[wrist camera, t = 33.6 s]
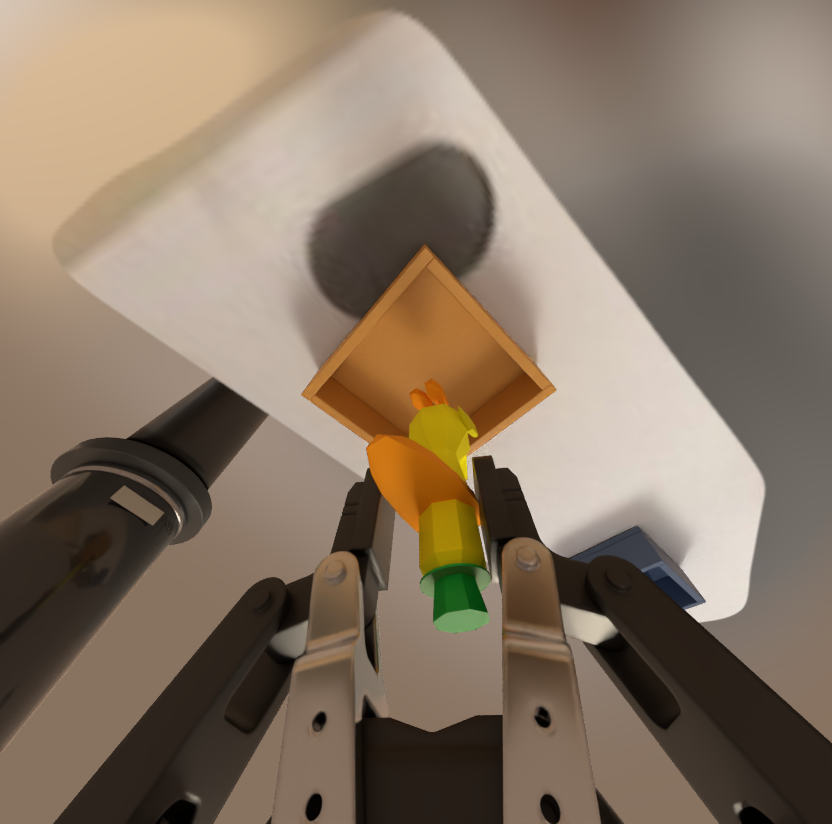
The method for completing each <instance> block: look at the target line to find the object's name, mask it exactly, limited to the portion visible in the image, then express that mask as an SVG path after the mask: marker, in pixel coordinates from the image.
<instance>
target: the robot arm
mask: <svg viewBox="0 0 832 824" xmlns="http://www.w3.org/2000/svg"><path fill="white" fill-rule="evenodd" d="M472 464H473V477H474V489H475V496H476V498H477V501H478V503H479V511H480V523H481V529H482V534H483V539H484V544H485V550H486V555H487V560H488V565H489V571H490V576H491V581H492V584H500V589H501V593H502V669H503V672H502V673H503V715H481V716H480V715H478V716H474V717H471V718H469V719H466V720H464V721H462V722H459V723H457V724H454V725H451V726H449V727H446V728H444V729H441V730H439V731H436V732H428V731H425V730H422V729H419V728H417V727H414V726H411V725H409V724H406V723H403V722H400V721H398V720H395V719H392V718H389V708H388V701H387V695H386V691H385V686H384V681H383V672H382V660H381V659H382V658H381V646H380V630H379V617H378V609H377V598H378V591H381V590H388V581H389V571H390V561H391V551H392V540H393V530H394V520H395V509H394V508H393V507H392V506H391V505H390V503H389V502H388V501H387V500H386V499H385V497H384V496H383V495H382V494H381V492H380V490H379V488H378V486H377V485H376V483H375V481H374V479H373V477H372V475H371V470H370V468H368V469H367V472H366V476H365V480H364V482H357V483H355V484H354V486H353V487H352V488H351V489H350V491H349V492H348V494H347V498H346V502H345V506H344V508H343V512H342V516H341V519H340V523H339V526H338V529H337V533H336V536H335V540H334V543H333V547H332V550H331V554H330V555H329V556H327V557H326V558H325V559H323V560H322V561H321V562H320V564H319V565H318V566H317V568H316V570H315V572H314V573H313V574H311V575H309V576H307V577H304V578H302V579H299V580H297V581H294V582H292V583H289V584H287V585H285V583H284V582H283V581H282V580H281V579H279V578H276V577H271V578H266V579H263V580H261V581H259V582H258V583H256V584H254V585H253V586H252V587H251V588H250V589H248V591H247V592H246V593H245V594H244V595H243V596H242V597H241V599H240V600H239V601H238V602H237V604H236V605H235V606H234V607H233V608H232V610H231V611H230V612H229V613H228V615H227V616H226V617H225V618H224V619H223V621H222V622H221V623H220V624H219V625H218V627H217V628H216V629H215V630H214V631H213V632H212V634H211V635H210V636H209V637H208V638H207V640H206V641H205V642H204V643H203V645H202V646H201V647H200V648H199V649H198V650H197V652H196V653H195V654H194V655H193V656H192V658H191V659H190V660H189V661H188V662H187V664H186V665H185V666H184V667H183V668H182V670H181V671H180V672H179V673H178V675H177V676H176V677H175V678H174V680H172V682H171V683H170V684H169V685H168V686H167V688H166V689H165V690H164V691H163V692H162V694H161V695H160V696H159V697H158V698H157V700H156V701H155V702H154V703H153V705H152V706H151V707H150V708H149V709H148V710H147V712H146V713H145V714H144V715H143V717H142V718H141V719H140V720H139V722H137V724H136V725H135V726H134V727H133V728H132V730H131V731H130V732H129V733H128V735H127V736H126V737H125V738H124V739H123V741H122V742H121V743H120V744H119V745H118V747H117V748H116V749H115V750H114V751H113V753H112V754H111V755H110V756H109V757H108V759H107V760H106V761H105V762H104V763H103V765H102V766H101V767H100V768H99V769H98V771H97V772H96V773H95V774H94V775H93V777H92V778H91V779H90V780H89V781H88V783H87V784H86V785H85V786H84V787H83V789H82V790H81V791H80V792H79V793H78V795H77V796H76V797H75V798H74V799H73V801H72V802H71V803H70V804H69V805H68V807H67V808H66V809H65V810H64V811H63V813H62V814H61V815H60V816H59V818H58V819H57V820H56V821H55V822H54V824H213V823H214V821H215V819H216V818H217V816H218V814H219V813H220V811H221V809H222V807H223V805H224V804H225V802H226V800H227V799H228V797H229V795H230V794H231V792H232V790H233V788H234V786H235V785H236V783H237V781H238V780H239V778H240V776H241V774H242V773H243V771H244V769H245V768H246V766H247V764H248V762H249V761H250V758H251V757H252V755H253V754H254V752H255V750H256V748H257V747H258V745H259V743H260V741H261V740H262V738H263V736H264V735H265V733H266V731H267V729H268V728H269V726H270V724H271V722H272V721H273V719H274V717H275V715H276V714H277V712H278V710H279V708H280V707H281V705H282V703H283V701H284V700H285V698H286V696H287V694H288V693H289V697H288V704H287V712H286V719H285V726H284V733H283V741H282V748H281V755H280V762H279V770H278V778H277V784H276V792H275V798H274V806H273V813H272V816H271V817H270V818H269V820H268V821H267V823H266V824H624V823H623V822H622V820H621V819H620V818H619V817H618V815H617V814H616V813H615V811H614V810H613V809H612V808H611V806H610V805H609V804H608V802H607V801H606V800H605V799H604V797H603V796H602V795H601V794H600V792H599V791H598V790H597V788H596V787H595V784H594V778H593V772H592V766H591V760H590V754H589V749H588V742H587V736H586V730H585V724H584V718H583V712H582V706H581V700H580V694H579V688H578V682H577V676H576V670H575V664H574V658H573V654H572V650H571V647H570V645H569V643H568V642H567V640H566V636H568V637H571V638H574V639H578V640H581V641H582V642H583V643H584V645H585V646H586V647H587V649H588V650H589V651H590V653H591V654H592V655H593V657H594V658H595V659H596V660H597V662H598V663H599V664H600V666H601V667H602V669H603V670H604V671H605V673H606V674H607V675H608V677H609V678H610V679H611V680H612V682H613V683H614V684H615V686H616V687H617V688H618V690H619V691H620V692H621V694H622V695H623V696H624V698H625V699H626V700H627V702H628V703H629V704H630V706H631V707H632V708H633V710H634V711H635V712H636V714H637V715H638V716H639V718H640V719H641V720H642V722H643V723H644V724H645V726H646V727H647V728H648V730H649V731H650V732H651V734H652V735H653V736H654V738H655V739H656V740H657V742H658V743H659V744H660V746H661V747H662V748H663V750H664V751H665V752H666V754H667V755H668V756H669V758H670V759H671V760H672V762H673V763H674V764H675V766H676V767H677V768H678V769H679V771H680V772H681V773H682V775H683V776H684V777H685V778H686V780H687V781H688V782H689V784H690V785H691V787H692V788H693V789H694V791H695V792H696V793H697V795H698V796H699V797H700V799H701V800H702V801H703V802H704V804H705V805H706V807H707V808H708V809H709V811H710V812H711V813H712V815H713V816H714V817H715V819H716V820H717V821H718V822H719V824H832V743H831V742H830V741H829V740H828V739H826V738H825V737H824V736H823V735H822V734H821V733H820V732H819V731H818V730H816V729H815V728H814V727H813V726H812V725H811V724H810V723H808V721H807V720H805V719H804V718H803V717H802V716H801V715H800V714H799V713H798V712H796V710H794V709H793V708H792V707H791V706H790V705H789V704H788V703H787V702H786V701H785V700H783V699H782V698H781V697H780V696H779V695H778V694H777V693H776V692H774V691H773V690H772V689H771V688H770V687H769V686H768V685H767V684H766V683H765V682H763V681H762V680H761V679H760V678H759V677H758V676H757V675H756V674H755V673H754V672H752V671H751V670H750V669H749V668H748V667H747V666H746V665H745V664H744V663H742V662H741V661H740V660H739V659H738V658H737V657H736V656H735V655H734V654H732V653H731V652H730V651H729V650H728V649H727V648H726V647H725V646H724V645H723V644H721V643H720V642H719V641H718V640H717V639H716V638H715V637H714V636H713V635H712V634H710V633H709V632H708V631H707V630H706V629H705V628H704V627H703V626H702V625H701V624H699V623H698V622H697V621H696V620H695V619H694V618H693V617H692V616H691V615H689V614H688V613H687V612H686V611H685V610H684V609H683V608H682V607H681V606H680V605H678V604H677V603H676V602H675V601H674V600H673V599H672V598H671V597H670V596H668V595H667V594H666V593H665V592H664V591H663V590H662V589H661V588H660V587H659V586H657V585H656V584H655V583H654V582H653V581H652V580H651V579H650V578H649V577H647V576H646V575H645V574H644V573H643V572H642V571H641V570H640V569H639V568H637V567H636V566H635V565H634V564H632V563H631V562H629V561H627V560H625V559H623V558H620V557H617V556H612V555H602V556H598V557H595V558H594V559H593V560H592V561H591V562H590V563H586V562H581V561H577V560H572V559H568V558H565V557H562V556H559V555H557V554H556V553H554V552H552V551H551V550H550V549H548V548H547V547H546V546H545V545H544V544H543V542H542V541H541V539H540V537H539V535H538V533H537V530H536V527H535V525H534V522H533V519H532V516H531V514H530V511H529V508H528V506H527V503H526V500H525V498H524V495H523V492H522V490H521V487H520V484H519V481H518V479H517V477H516V476H515V475H514V474H513V473H512V472H511V471H510V470H509V469H508V468H498V469H496V468H495V465H494V462H493V458H492V456H491V455H490V456H481V457H472ZM186 522H187V512H186V509H185V507H184V505H183V503H182V501H181V500H180V499H179V497H178V496H177V495H176V494H175V493H174V492H173V491H172V490H171V489H170V488H169V487H167V486H166V485H165V484H164V483H162V482H161V481H159V480H158V479H156V478H154V477H153V476H151V475H149V474H147V473H145V472H142V471H140V470H138V469H135V468H132V467H129V466H126V465H122V464H118V463H112V462H88V463H84V464H81V465H79V466H77V467H75V468H74V469H72V470H71V471H69V472H68V473H66V474H65V475H64V476H62V477H61V479H60V480H59V481H58V482H56V483H55V484H53V485H52V486H50V487H49V488H48V489H46V490H45V491H43V492H42V493H40V494H39V495H38V496H36V497H35V498H33V499H32V500H30V501H29V502H28V503H26V504H24V505H23V506H21V507H20V508H18V509H17V510H16V511H14V512H13V513H11V514H10V515H8V516H7V517H6V518H4V519H3V520H1V521H0V754H1V753H2V752H3V751H4V750H5V749H6V747H7V746H8V745H9V743H10V742H11V741H12V740H13V739H14V737H15V736H16V734H17V733H18V732H19V731H20V730H21V729H22V727H23V726H24V725H25V724H26V722H27V721H28V720H29V718H30V717H31V716H32V715H33V714H34V712H35V711H36V710H37V708H38V707H39V706H40V705H41V703H42V702H43V701H44V700H45V699H46V697H47V696H48V695H49V694H50V692H51V691H52V690H53V688H54V687H55V686H56V685H57V684H58V682H59V681H60V680H61V679H62V677H63V676H64V675H65V674H66V672H67V671H68V670H69V668H70V667H71V666H72V665H73V663H74V662H75V661H76V660H77V659H78V657H79V656H80V654H81V653H82V652H83V651H84V650H85V648H86V647H87V646H88V645H89V643H90V642H91V641H92V640H93V639H94V637H95V636H96V635H97V634H98V632H99V631H100V630H101V629H102V627H103V626H104V625H105V624H106V622H107V621H108V620H109V619H110V617H111V616H112V615H113V614H114V612H115V611H116V610H117V608H118V607H119V606H120V605H121V604H122V602H123V601H124V600H125V598H126V597H127V596H128V595H129V594H130V592H131V591H132V590H133V589H134V587H135V586H136V585H137V584H138V582H139V581H140V580H141V579H142V577H143V576H144V575H145V573H146V572H147V571H148V570H149V569H150V567H151V566H152V564H153V563H154V562H155V561H156V559H158V557H159V556H160V555H161V553H162V552H163V551H164V550H165V548H166V547H167V546H168V545H169V544H170V542H171V541H172V540H173V539H175V538H176V537H177V536H178V534H179V533H180V532H181V531H182V529H183V528H184V527H185V525H186Z"/></svg>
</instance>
